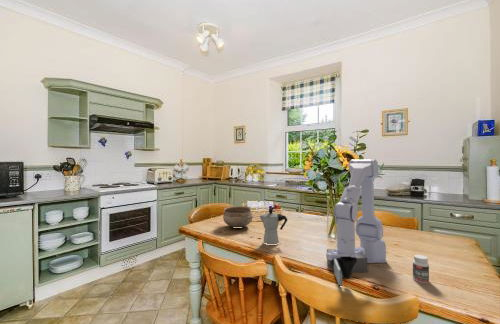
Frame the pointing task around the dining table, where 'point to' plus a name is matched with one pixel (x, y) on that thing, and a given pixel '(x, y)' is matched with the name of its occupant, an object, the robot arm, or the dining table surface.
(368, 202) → the robot arm
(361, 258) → the camera housing
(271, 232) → the coffee maker
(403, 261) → the dining table surface
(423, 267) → the pill bottle
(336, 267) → the side door
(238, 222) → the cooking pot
